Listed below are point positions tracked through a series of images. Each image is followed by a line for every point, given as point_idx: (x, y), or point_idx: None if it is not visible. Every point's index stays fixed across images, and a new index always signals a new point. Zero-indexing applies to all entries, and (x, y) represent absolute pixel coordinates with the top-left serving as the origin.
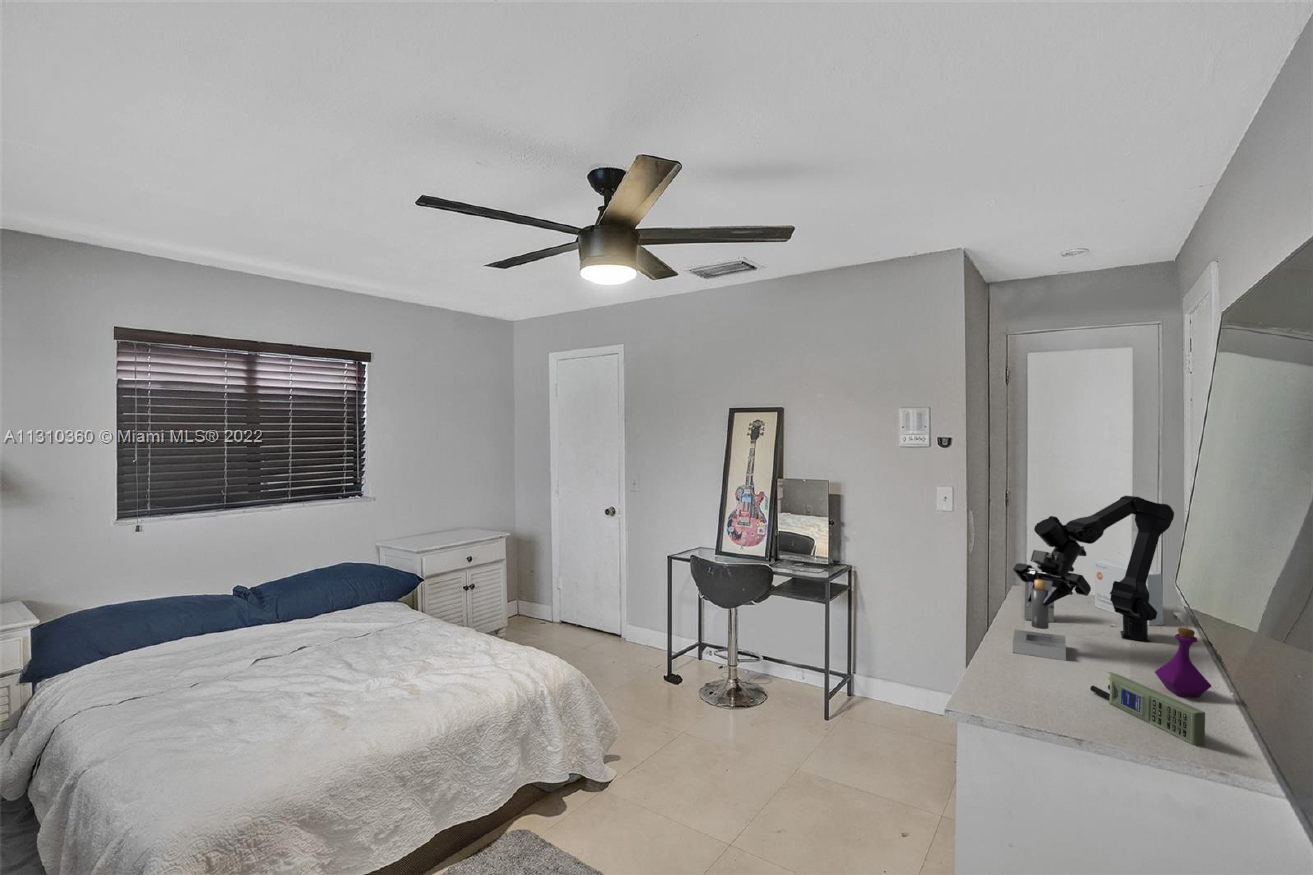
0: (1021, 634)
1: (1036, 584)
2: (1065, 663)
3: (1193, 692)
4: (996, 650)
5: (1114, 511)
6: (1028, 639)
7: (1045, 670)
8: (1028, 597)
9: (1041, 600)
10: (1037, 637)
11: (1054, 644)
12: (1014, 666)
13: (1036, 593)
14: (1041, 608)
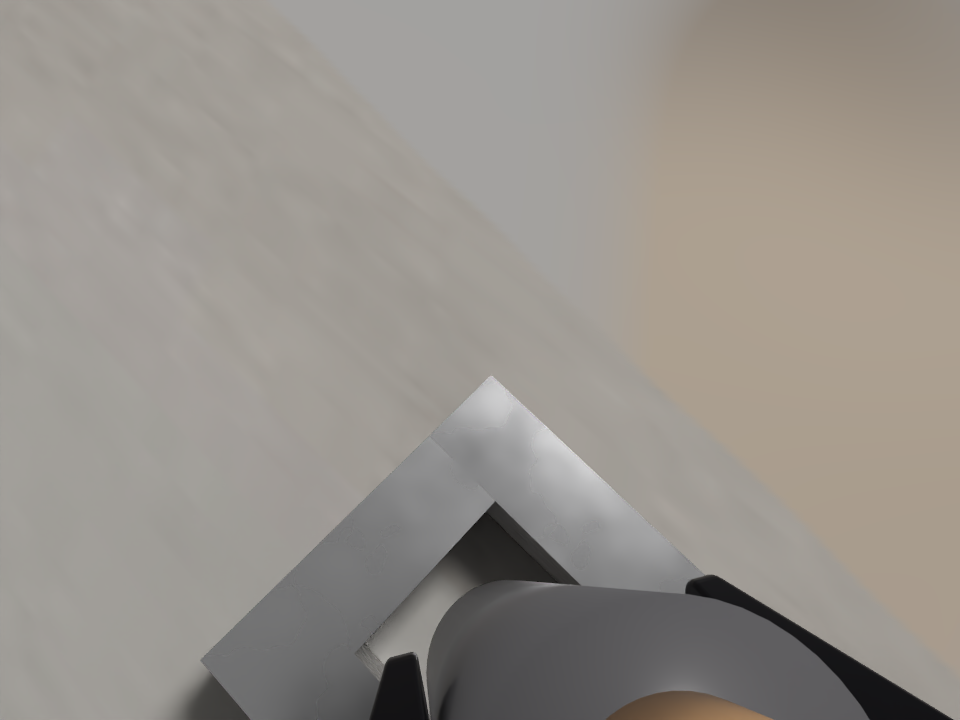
0: (635, 582)
1: None
2: (190, 592)
3: None
4: (544, 335)
5: None
6: None
7: (149, 350)
8: (733, 600)
9: (463, 671)
10: None
11: (330, 657)
12: (276, 235)
13: (563, 615)
14: (452, 648)
